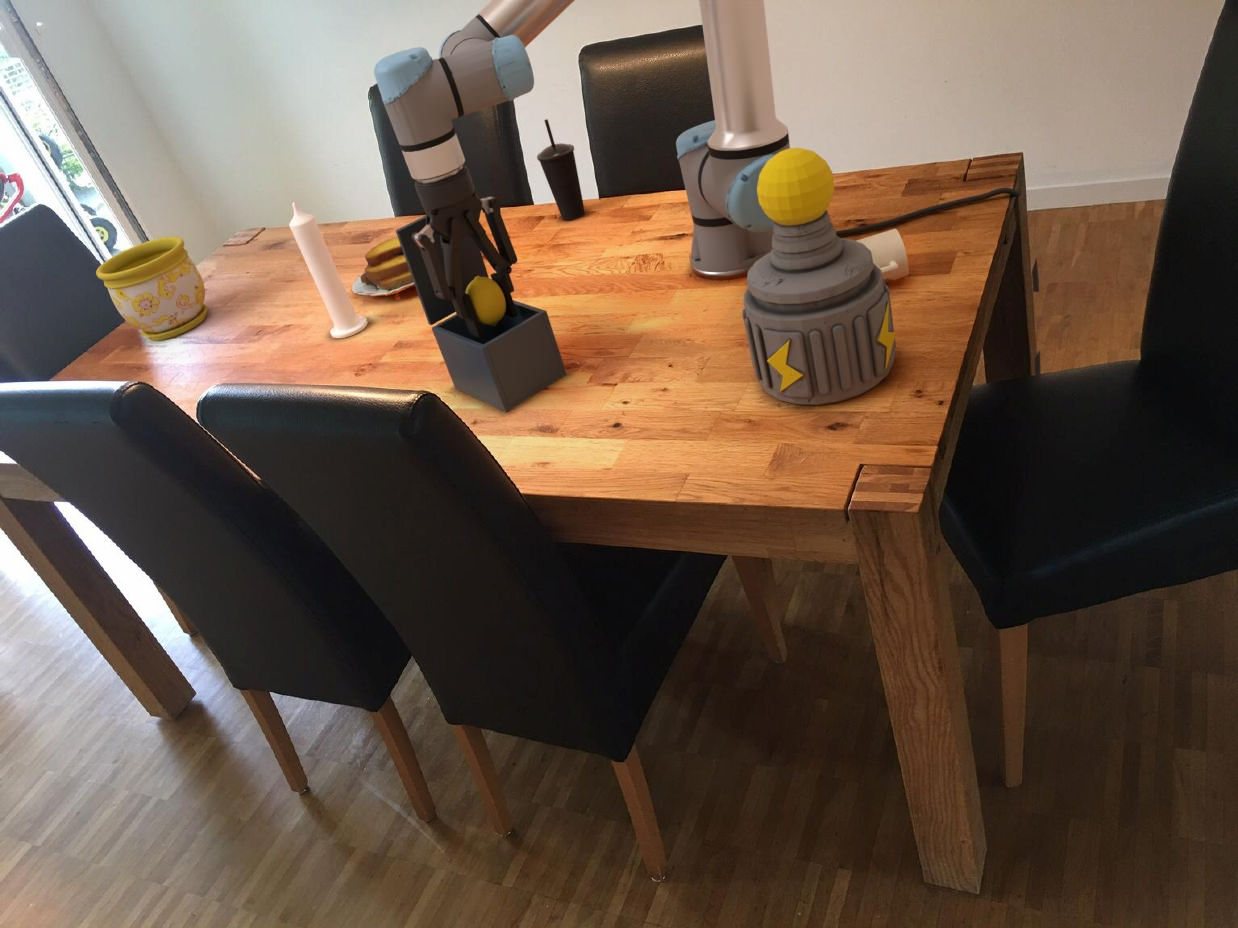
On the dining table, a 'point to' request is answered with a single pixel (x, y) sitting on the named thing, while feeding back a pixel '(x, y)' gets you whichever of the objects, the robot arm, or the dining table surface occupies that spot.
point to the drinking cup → (562, 177)
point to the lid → (469, 267)
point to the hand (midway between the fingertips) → (494, 324)
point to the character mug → (888, 254)
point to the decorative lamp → (814, 294)
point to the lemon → (487, 300)
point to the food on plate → (384, 271)
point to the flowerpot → (156, 287)
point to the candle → (325, 275)
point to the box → (502, 357)
